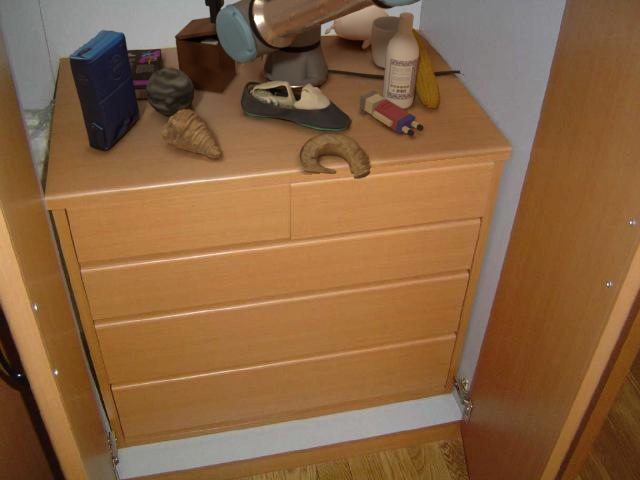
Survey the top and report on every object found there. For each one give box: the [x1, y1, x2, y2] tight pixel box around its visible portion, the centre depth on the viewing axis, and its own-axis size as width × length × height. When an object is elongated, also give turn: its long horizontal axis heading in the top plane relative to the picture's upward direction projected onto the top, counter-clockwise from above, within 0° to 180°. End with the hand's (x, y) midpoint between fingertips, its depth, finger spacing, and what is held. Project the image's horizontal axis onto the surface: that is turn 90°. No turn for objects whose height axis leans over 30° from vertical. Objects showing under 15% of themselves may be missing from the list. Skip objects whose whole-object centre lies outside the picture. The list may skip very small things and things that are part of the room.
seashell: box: [160, 109, 222, 159], centre depth 131 cm, size 14×8×8 cm
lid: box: [174, 16, 217, 41], centre depth 146 cm, size 11×9×1 cm
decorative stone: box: [146, 67, 196, 117], centre depth 140 cm, size 10×10×10 cm
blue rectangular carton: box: [68, 29, 140, 152], centre depth 129 cm, size 14×5×20 cm, turn 164°
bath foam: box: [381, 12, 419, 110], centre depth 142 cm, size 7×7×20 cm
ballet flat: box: [240, 81, 352, 132], centre depth 139 cm, size 8×24×8 cm, turn 72°
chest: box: [175, 34, 237, 94], centre depth 150 cm, size 10×9×11 cm
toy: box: [359, 90, 425, 137], centre depth 141 cm, size 6×4×15 cm
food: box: [412, 27, 441, 110], centre depth 148 cm, size 21×6×6 cm
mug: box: [370, 15, 399, 69], centre depth 158 cm, size 13×9×10 cm
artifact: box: [299, 132, 372, 180], centre depth 129 cm, size 12×3×15 cm
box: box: [127, 48, 163, 100], centre depth 153 cm, size 14×4×20 cm
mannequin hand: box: [324, 5, 390, 50], centre depth 169 cm, size 12×18×12 cm
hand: (216, 20), depth 144 cm, fingers closed
